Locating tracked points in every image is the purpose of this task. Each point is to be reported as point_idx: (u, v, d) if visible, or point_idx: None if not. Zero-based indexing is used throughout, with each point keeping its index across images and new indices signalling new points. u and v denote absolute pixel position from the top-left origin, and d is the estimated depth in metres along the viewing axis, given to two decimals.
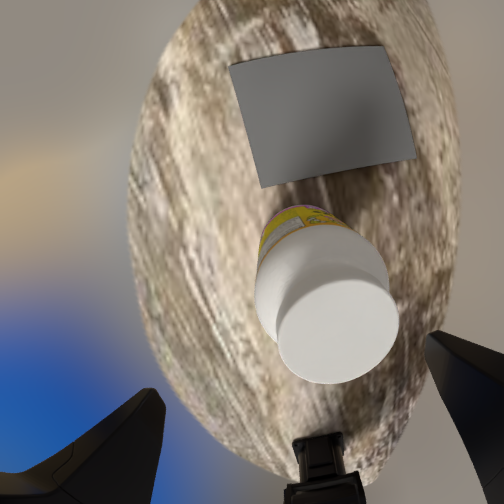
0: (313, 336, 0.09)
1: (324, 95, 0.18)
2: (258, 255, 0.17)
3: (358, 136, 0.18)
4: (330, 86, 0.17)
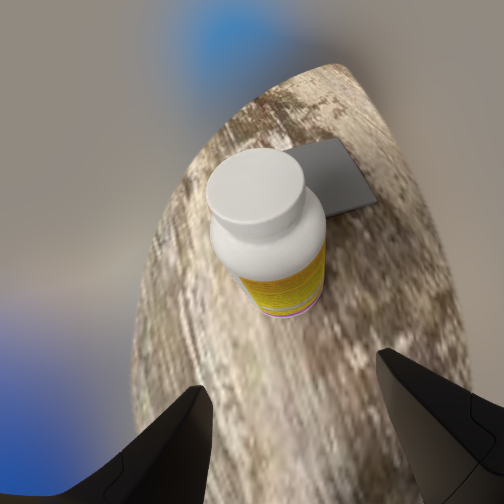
0: (230, 181, 0.13)
1: None
2: None
3: (324, 194, 0.26)
4: None
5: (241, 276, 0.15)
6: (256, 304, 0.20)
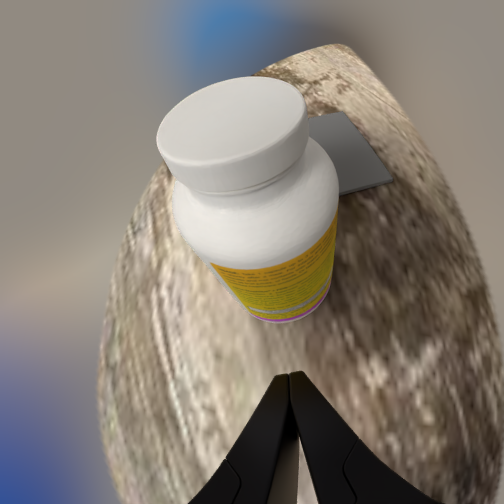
0: (194, 114, 0.08)
1: None
2: None
3: None
4: None
5: (212, 262, 0.10)
6: (243, 304, 0.15)
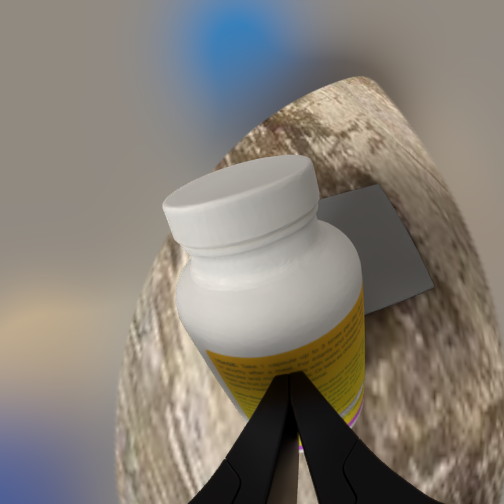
0: (203, 183, 0.09)
1: None
2: None
3: (365, 278, 0.18)
4: None
5: (208, 347, 0.08)
6: None
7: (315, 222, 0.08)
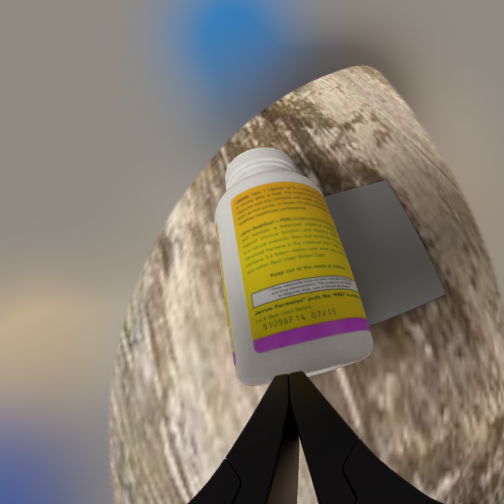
0: None
1: None
2: None
3: (373, 285, 0.16)
4: None
5: (233, 195, 0.14)
6: (245, 311, 0.11)
7: None
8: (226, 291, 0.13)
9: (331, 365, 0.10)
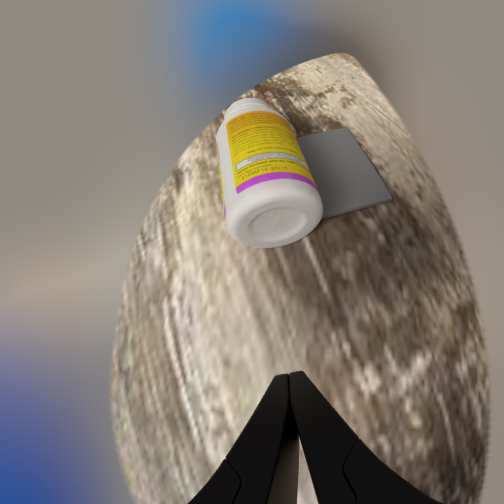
0: None
1: None
2: None
3: (332, 189, 0.23)
4: None
5: (228, 121, 0.20)
6: (232, 174, 0.18)
7: None
8: (221, 173, 0.19)
9: (285, 197, 0.16)
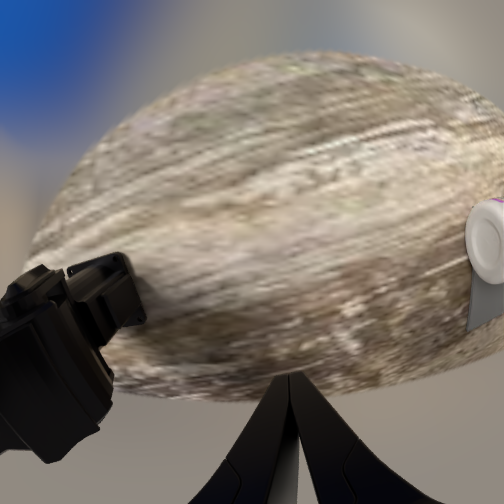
0: None
1: None
2: None
3: (488, 284, 0.20)
4: None
5: None
6: None
7: None
8: None
9: None
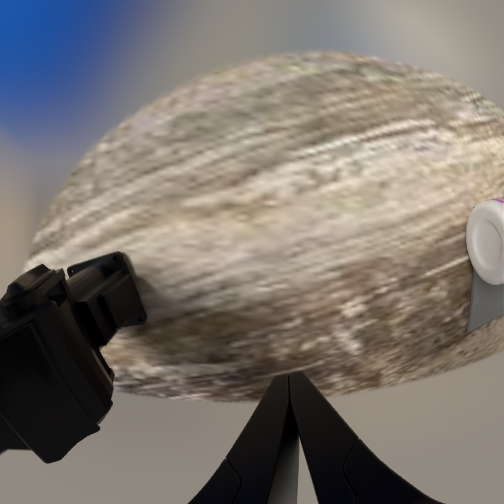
0: None
1: None
2: None
3: (489, 285, 0.20)
4: None
5: None
6: None
7: None
8: None
9: None
